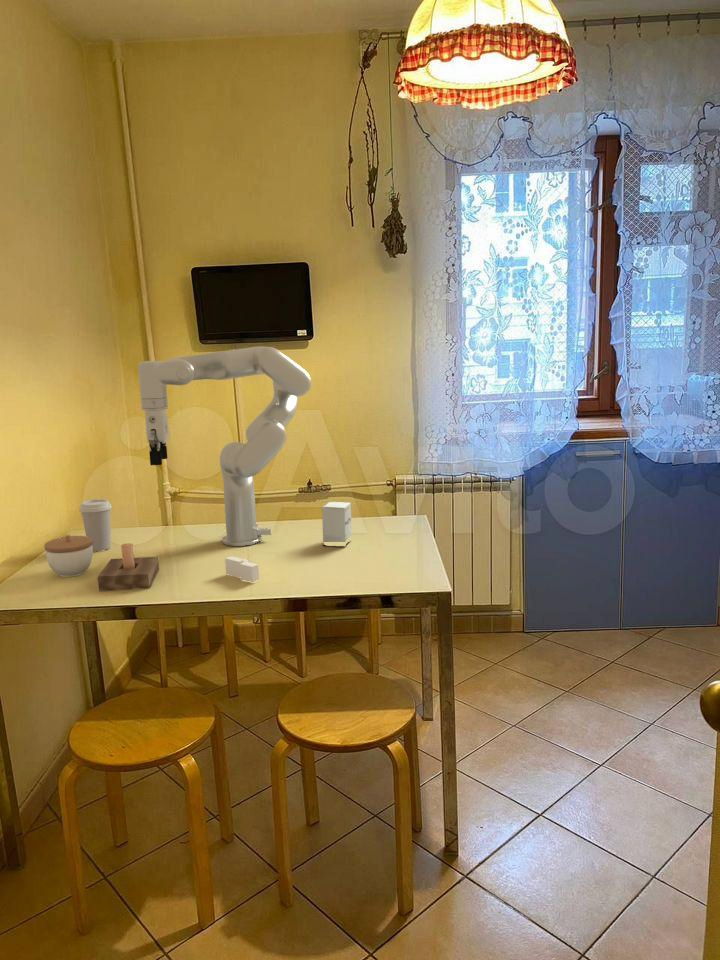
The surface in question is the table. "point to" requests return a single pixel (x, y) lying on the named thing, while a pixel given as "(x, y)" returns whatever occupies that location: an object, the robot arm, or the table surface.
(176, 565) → the table surface
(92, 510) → the coffee cup
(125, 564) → the peg
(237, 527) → the robot arm
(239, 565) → the napkin holder
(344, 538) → the supplement box
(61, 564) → the lidded bowl
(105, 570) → the hole block
